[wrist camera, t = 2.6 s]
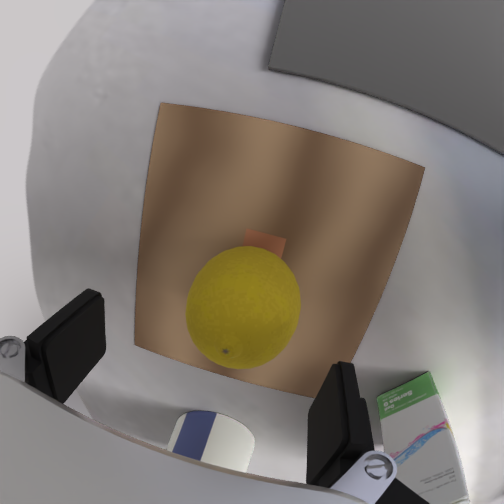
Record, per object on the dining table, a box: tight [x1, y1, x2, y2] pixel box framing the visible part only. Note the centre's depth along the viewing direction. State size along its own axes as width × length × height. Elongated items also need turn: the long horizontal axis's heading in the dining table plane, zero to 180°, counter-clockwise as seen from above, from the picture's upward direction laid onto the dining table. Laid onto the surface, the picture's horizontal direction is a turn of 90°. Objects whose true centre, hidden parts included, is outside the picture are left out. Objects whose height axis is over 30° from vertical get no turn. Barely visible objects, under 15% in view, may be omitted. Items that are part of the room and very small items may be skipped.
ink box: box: [377, 372, 470, 504], centre depth 16 cm, size 9×5×12 cm, turn 34°
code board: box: [135, 103, 425, 398], centre depth 19 cm, size 16×18×1 cm
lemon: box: [185, 246, 301, 369], centre depth 15 cm, size 6×6×8 cm
